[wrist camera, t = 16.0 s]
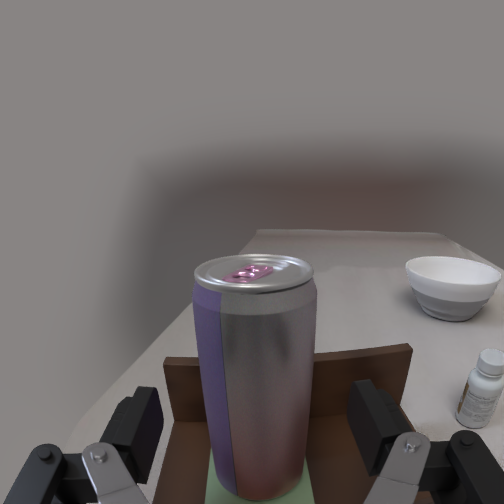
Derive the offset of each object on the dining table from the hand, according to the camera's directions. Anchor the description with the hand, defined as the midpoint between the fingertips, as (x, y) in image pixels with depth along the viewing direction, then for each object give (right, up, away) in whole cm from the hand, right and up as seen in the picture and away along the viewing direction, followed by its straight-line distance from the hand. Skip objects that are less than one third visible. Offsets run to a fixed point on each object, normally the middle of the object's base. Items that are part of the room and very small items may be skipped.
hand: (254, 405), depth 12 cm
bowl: (+37, -5, +40) cm, 55 cm away
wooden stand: (+3, -13, +8) cm, 16 cm away
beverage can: (0, -9, +6) cm, 11 cm away
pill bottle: (+23, -12, +13) cm, 29 cm away
